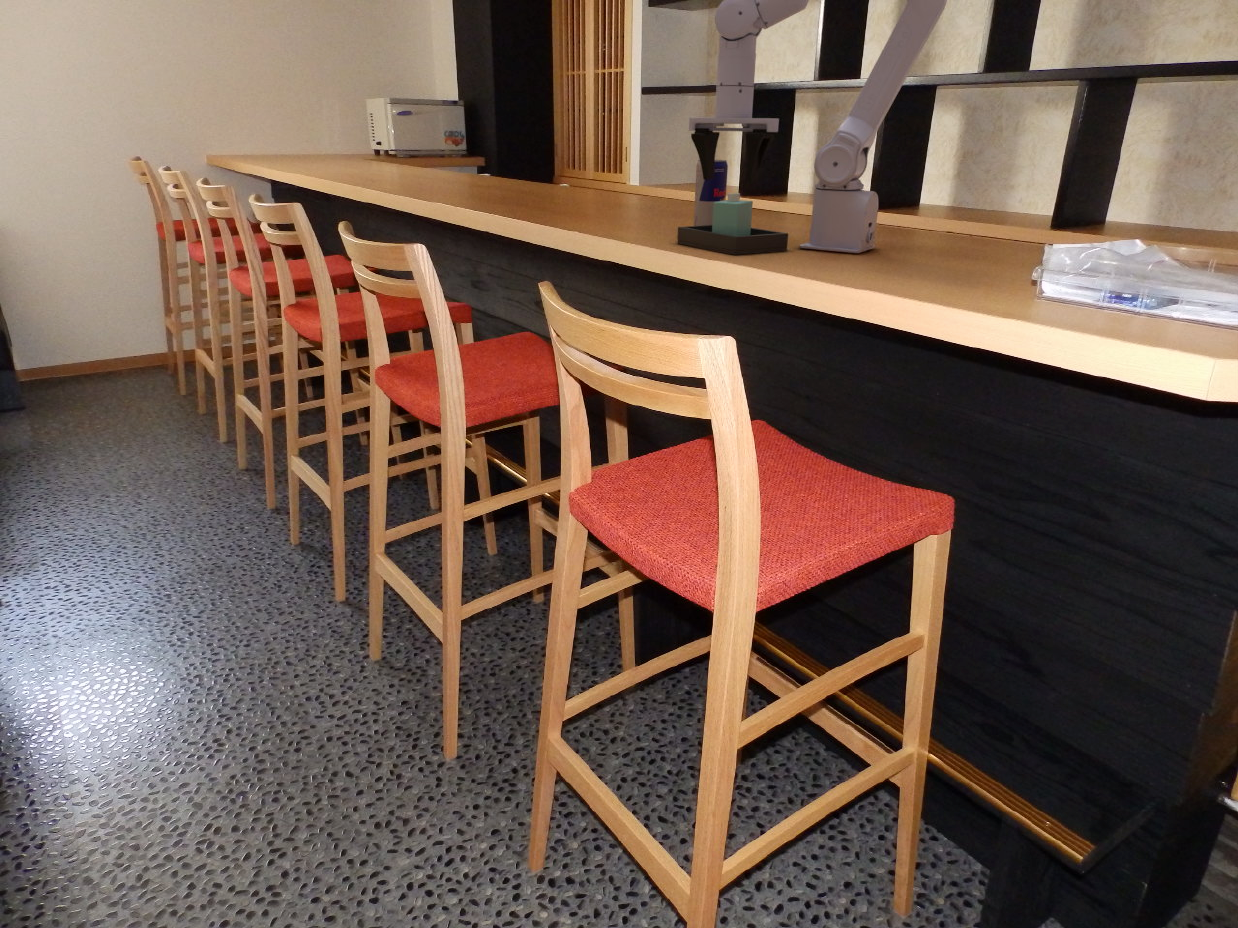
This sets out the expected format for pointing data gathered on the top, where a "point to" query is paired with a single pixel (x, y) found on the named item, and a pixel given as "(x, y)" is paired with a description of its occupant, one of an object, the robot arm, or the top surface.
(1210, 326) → the top surface
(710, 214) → the energy drink
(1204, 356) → the top surface
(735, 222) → the detergent bottle
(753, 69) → the robot arm
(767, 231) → the tray
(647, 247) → the top surface
